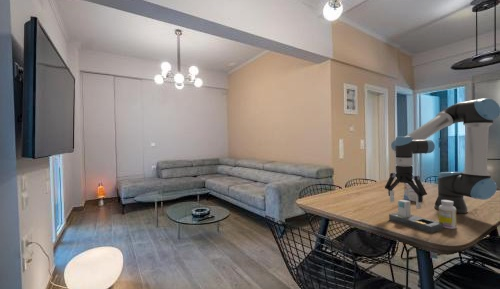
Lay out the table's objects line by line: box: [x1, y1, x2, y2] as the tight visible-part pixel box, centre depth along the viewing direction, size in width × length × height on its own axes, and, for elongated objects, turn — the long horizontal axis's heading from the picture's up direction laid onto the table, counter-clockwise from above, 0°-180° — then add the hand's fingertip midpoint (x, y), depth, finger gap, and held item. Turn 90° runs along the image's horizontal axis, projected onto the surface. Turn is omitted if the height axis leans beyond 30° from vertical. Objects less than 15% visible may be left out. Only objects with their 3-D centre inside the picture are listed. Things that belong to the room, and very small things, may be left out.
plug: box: [397, 199, 412, 218], centre depth 122 cm, size 5×4×11 cm
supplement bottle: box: [438, 200, 457, 230], centre depth 114 cm, size 7×7×13 cm
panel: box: [388, 211, 444, 234], centre depth 118 cm, size 10×20×3 cm, turn 25°
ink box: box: [403, 180, 425, 202], centre depth 164 cm, size 9×8×13 cm
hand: (404, 205), depth 123 cm, fingers open, 13 cm apart
